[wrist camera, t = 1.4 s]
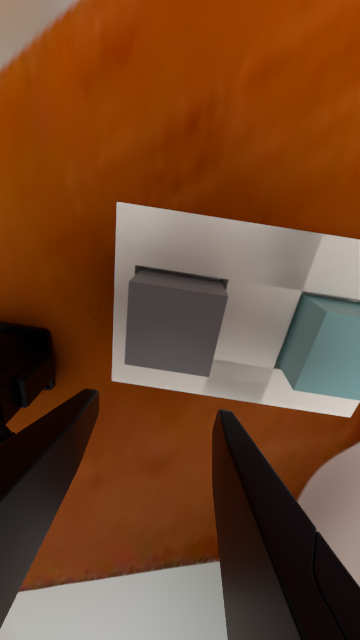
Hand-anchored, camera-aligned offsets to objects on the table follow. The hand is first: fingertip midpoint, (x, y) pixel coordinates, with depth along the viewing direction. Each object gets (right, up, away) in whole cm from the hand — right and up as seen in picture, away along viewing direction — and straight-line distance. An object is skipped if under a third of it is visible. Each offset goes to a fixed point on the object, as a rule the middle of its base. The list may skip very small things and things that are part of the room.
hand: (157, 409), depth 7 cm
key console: (+6, +4, +11) cm, 13 cm away
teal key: (+10, +2, +8) cm, 13 cm away
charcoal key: (0, +3, +8) cm, 9 cm away
